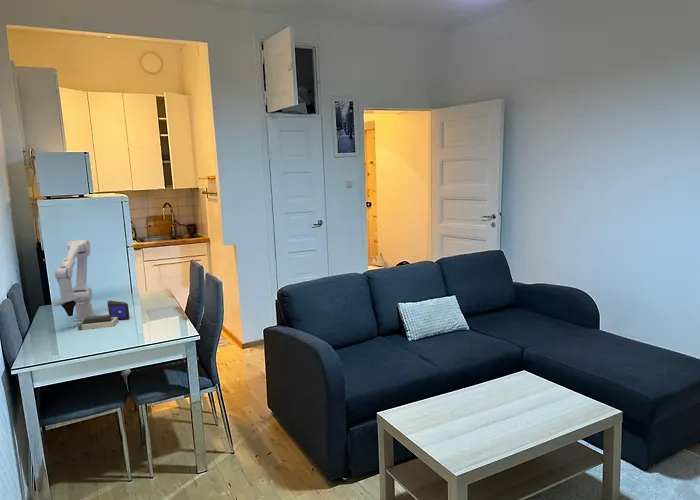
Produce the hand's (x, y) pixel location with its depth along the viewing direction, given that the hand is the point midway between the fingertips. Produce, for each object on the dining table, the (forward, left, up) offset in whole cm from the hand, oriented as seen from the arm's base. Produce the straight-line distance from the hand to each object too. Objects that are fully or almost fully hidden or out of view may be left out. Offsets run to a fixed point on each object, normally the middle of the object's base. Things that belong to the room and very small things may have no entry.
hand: (70, 315), depth 252 cm
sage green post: (+2, +6, -6) cm, 9 cm away
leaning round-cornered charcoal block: (-10, +21, -7) cm, 24 cm away
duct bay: (+2, +14, -6) cm, 15 cm away
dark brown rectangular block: (+2, +13, -7) cm, 15 cm away
